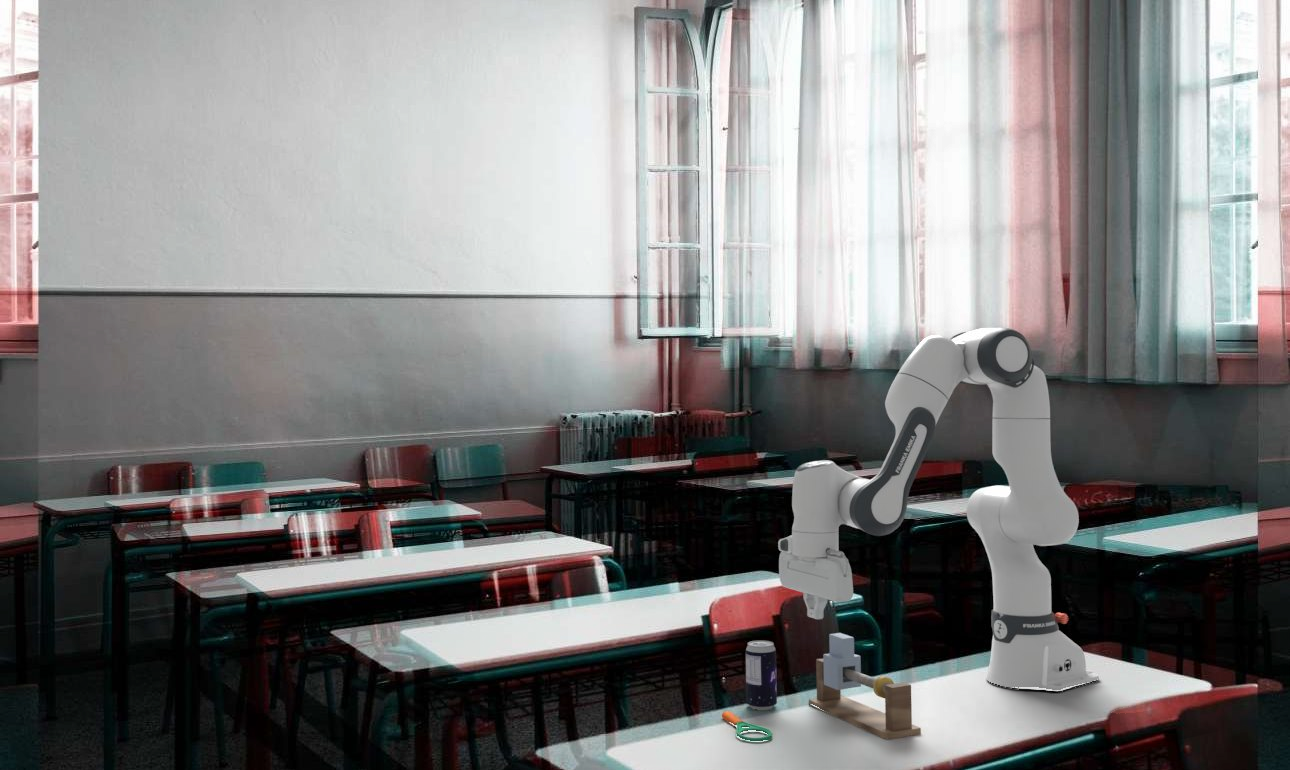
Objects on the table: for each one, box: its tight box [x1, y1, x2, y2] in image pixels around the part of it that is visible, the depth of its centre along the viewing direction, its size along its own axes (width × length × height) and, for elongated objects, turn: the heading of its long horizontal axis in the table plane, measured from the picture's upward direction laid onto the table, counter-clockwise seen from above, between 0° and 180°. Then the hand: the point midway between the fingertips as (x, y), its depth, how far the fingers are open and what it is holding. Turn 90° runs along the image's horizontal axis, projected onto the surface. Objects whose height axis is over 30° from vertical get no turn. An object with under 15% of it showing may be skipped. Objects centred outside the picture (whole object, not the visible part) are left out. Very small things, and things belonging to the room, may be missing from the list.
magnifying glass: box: [721, 710, 773, 741], centre depth 200 cm, size 15×6×2 cm, turn 20°
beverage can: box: [745, 640, 778, 711], centre depth 214 cm, size 6×6×12 cm
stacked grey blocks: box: [822, 632, 862, 690], centre depth 211 cm, size 4×5×9 cm
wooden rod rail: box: [808, 658, 922, 740], centre depth 206 cm, size 24×7×9 cm, turn 25°
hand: (815, 617), depth 218 cm, fingers closed
